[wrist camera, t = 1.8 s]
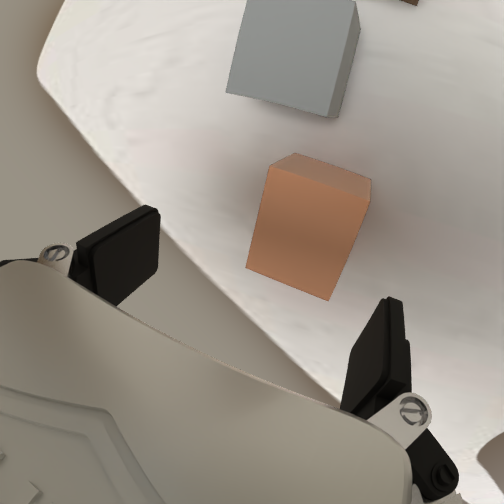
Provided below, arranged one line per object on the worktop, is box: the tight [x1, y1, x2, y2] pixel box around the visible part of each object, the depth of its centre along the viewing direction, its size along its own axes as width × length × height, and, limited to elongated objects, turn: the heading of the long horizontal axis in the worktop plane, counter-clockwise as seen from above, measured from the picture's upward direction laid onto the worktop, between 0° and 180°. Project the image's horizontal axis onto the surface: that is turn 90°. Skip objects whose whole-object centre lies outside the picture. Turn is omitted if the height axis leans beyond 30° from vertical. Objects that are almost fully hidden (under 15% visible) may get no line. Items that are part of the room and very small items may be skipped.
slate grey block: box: [226, 0, 361, 117], centre depth 13 cm, size 5×6×5 cm
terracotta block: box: [245, 153, 371, 301], centre depth 17 cm, size 5×6×5 cm
